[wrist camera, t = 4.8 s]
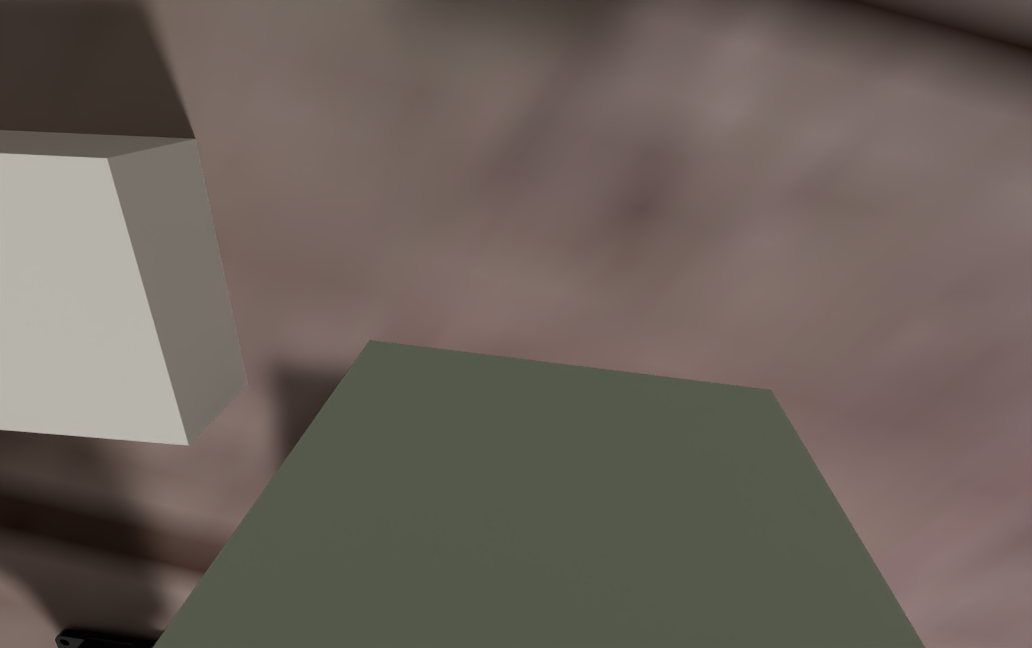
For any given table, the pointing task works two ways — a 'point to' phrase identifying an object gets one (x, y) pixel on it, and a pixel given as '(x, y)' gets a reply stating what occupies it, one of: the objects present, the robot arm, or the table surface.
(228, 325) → the base block
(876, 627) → the sage block
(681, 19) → the table surface
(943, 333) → the table surface
